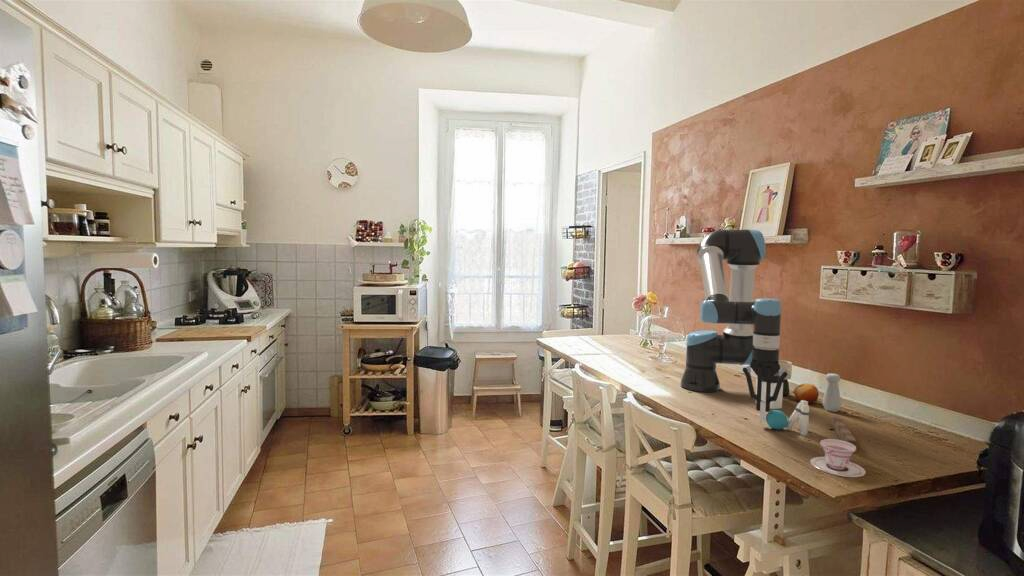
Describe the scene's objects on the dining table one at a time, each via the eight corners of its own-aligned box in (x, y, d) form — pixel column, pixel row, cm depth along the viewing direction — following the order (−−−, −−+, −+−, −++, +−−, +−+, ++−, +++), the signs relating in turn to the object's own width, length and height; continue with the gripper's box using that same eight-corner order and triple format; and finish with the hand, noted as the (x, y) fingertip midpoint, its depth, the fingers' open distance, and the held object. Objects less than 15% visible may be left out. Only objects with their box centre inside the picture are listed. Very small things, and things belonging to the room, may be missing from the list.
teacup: (821, 455, 138) (823, 433, 137) (873, 470, 128) (874, 447, 128) (802, 465, 131) (803, 442, 130) (854, 482, 121) (856, 458, 121)
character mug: (763, 390, 203) (765, 358, 202) (781, 390, 204) (782, 359, 203) (779, 398, 192) (781, 364, 191) (797, 398, 193) (799, 364, 192)
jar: (751, 405, 183) (753, 373, 182) (758, 401, 189) (760, 369, 188) (778, 411, 176) (780, 377, 176) (785, 406, 182) (786, 373, 182)
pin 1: (796, 428, 159) (799, 400, 158) (803, 428, 159) (805, 400, 158) (800, 430, 157) (803, 402, 156) (807, 430, 157) (809, 402, 156)
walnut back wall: (856, 452, 140) (857, 441, 140) (848, 450, 141) (848, 440, 140) (838, 425, 162) (839, 416, 162) (831, 424, 163) (832, 415, 162)
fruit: (827, 402, 183) (816, 383, 183) (806, 411, 184) (795, 392, 185) (818, 396, 191) (808, 377, 191) (799, 405, 192) (788, 387, 193)
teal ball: (766, 405, 161) (787, 406, 157) (767, 419, 163) (788, 422, 160) (764, 417, 156) (786, 419, 153) (766, 432, 158) (787, 434, 155)
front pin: (783, 425, 158) (797, 401, 157) (788, 428, 158) (803, 404, 157) (786, 428, 156) (801, 404, 155) (792, 431, 156) (807, 406, 155)
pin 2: (798, 433, 154) (799, 404, 154) (805, 433, 154) (806, 404, 154) (802, 435, 152) (804, 406, 151) (809, 435, 152) (810, 406, 152)
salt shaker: (843, 410, 178) (845, 374, 177) (838, 413, 174) (840, 376, 173) (824, 406, 182) (826, 371, 181) (819, 409, 178) (821, 373, 177)
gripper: (742, 347, 158) (739, 421, 159) (789, 351, 152) (785, 428, 153) (743, 343, 164) (740, 414, 166) (789, 347, 158) (785, 421, 160)
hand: (762, 421), depth 160 cm, fingers closed
